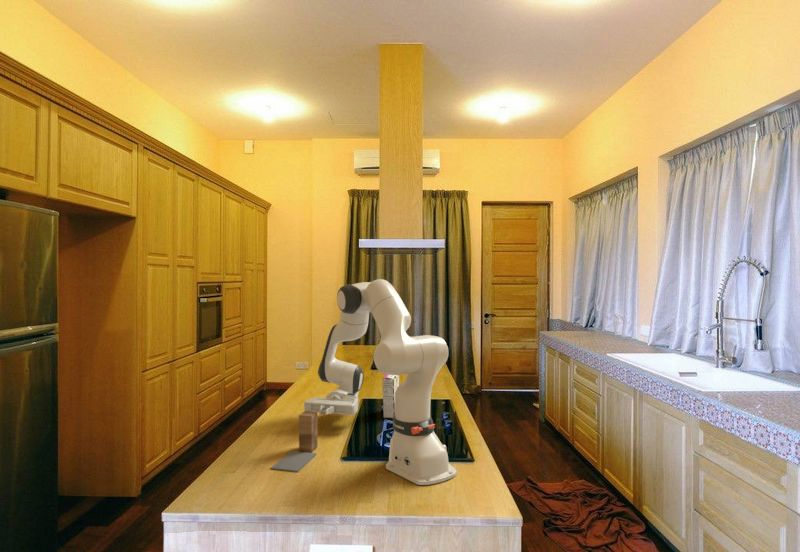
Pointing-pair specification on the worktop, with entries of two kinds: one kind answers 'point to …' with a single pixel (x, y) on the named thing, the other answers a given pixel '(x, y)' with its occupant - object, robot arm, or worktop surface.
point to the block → (308, 431)
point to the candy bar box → (389, 395)
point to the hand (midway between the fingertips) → (322, 412)
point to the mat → (293, 461)
